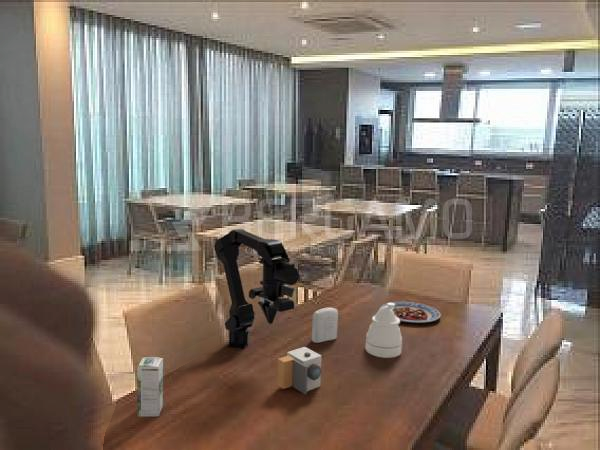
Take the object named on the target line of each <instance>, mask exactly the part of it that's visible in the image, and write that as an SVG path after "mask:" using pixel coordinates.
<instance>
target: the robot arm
mask: <svg viewBox="0 0 600 450" xmlns="http://www.w3.org/2000/svg"><path fill="white" fill-rule="evenodd" d="M242 245H243V246H245V247H248V248H250V249H252V250H254V251H256V254H257V255H258V256H259V257H260V258H261V259H259V261H258V263H259V264H262V280H259V284H260V285H261V286H260V287H256V288H255V287H254V288H251V289H250V290H249V291H248V298H250V299H252V300H255V299H256V297H258V298H259V301H258V302H257V304H258V305H259V307H260V308H261V310H262V313H263V314H264V316H265V319H266V321H267V323H268V324H269V325H272V324H273V322H274V320H275V317H276V315H277V313H279V312H280V313H281V312H282V313H283V312H286V311H291V310H295V307H296V306H295V302H294V300H293V299H290V298H293V295H294V293H295V288H294V287H292V286H294V285H296V284H297V283H298V281H299V279H300V273H299V269H297V267H295V266H296V264H295V263H293V262H290V261H291V260H290V258H289V257H290V256H289V255H288V252H287V251H286V248H285V247H284V244H283V242H282V241H281V240H279V239H275V238H274V239H272V238H263V237H260V236H258V235H256V234H253V233H251V232H249V231H247V230H245V229H243V228H236V229H232V230H230V231H229V232H228V233H227V234H225V235H223V236H221V237H220V238H219V239H217V240H216V241H215V243H214V246H213V248H214V251H215V254H216V257H217V259H218V260H219V261H220V262H221V263H222V264H223V268H224V274H225V278H226V282H227V283H226V284H227V286H228V293H229V296H230V300H231V304H230V309H229V310H228V313H229V318H228V319H227V320H226V321H225V322H224V328H225V330H227V331H228V333H229V334H228V343H227V347H230V348H240V349H241V348H242V349H245V348H246V347H247V345H249V343H250V331H249V328H252V326H253V324H254V321H255V314H256V313H255V311H254V306H253V305H254V304H253V303H249V302H248V301H247V300H246V297H245V291H244V288H243V283H242V279H241V275H240V269H239V266H238V265H239V264H238V258H239V254H240V247H241V246H242ZM285 296H287V297H285ZM288 297H289V298H288Z"/></svg>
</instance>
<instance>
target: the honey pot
mask: <svg viewBox="0 0 600 450" xmlns="http://www.w3.org/2000/svg"><path fill="white" fill-rule="evenodd" d="M386 304H387V305H388V306H383V307H382V308H379V310H378V311H376V314H375V315H373V316H372V318H371V320H372V322H371V323H370V325H369V328H368V331H367V333H366V335H365V351H366V352H367V353H368V354H370V355H372V356H375V357H378V358H385V359H386V358H387V359H388V358H396V357H398V356H400V355H401V354H402V348H403V336H402V334H401V329H400V326H399V325H400V324H401V321H400V319H399V318H397V317H395V315H394V313H393V311H392V309H393V308H394V306H395V304H394V303H391V302H386Z"/></svg>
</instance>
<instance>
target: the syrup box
mask: <svg viewBox="0 0 600 450" xmlns="http://www.w3.org/2000/svg"><path fill="white" fill-rule="evenodd" d="M136 372H137V374H136V375H137V376H136V378H137V380H136V381H137V384H136V385H137V387H136V388H137V392H136V393H137V395H136V396H137V397H136V398H137V404H136V405H137V418H146V417H147V418H149V417H150V418H151V417H152V418H153V417H160V414H161V411H162V408H163V406H164V357H157V356H156V357H155V356H151V357H150V356H149V357H146V356H145V357H142V359H141V360H140V362H139V364H138V366H137V371H136Z"/></svg>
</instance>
